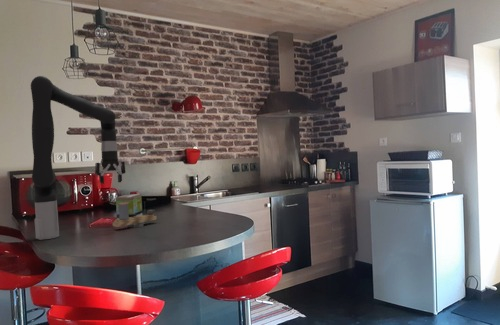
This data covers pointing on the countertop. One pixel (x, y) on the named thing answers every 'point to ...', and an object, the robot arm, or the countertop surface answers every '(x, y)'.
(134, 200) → the tea box
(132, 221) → the bread loaf
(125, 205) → the block
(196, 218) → the countertop surface
